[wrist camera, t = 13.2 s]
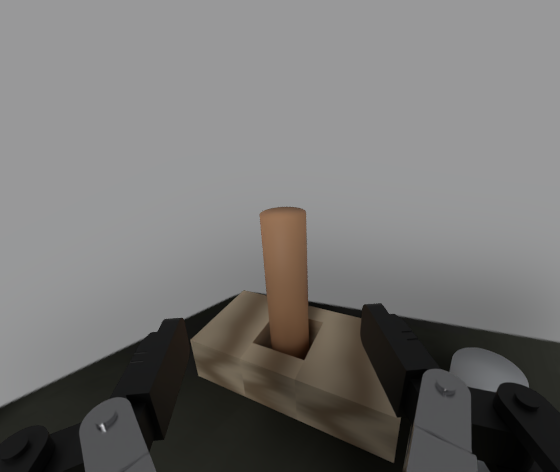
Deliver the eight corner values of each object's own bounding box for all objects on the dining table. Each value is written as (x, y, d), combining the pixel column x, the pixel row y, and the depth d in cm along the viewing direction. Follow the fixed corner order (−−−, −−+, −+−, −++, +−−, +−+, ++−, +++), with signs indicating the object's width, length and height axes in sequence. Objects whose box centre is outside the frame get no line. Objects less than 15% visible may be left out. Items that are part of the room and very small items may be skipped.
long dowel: (267, 376, 29) (250, 217, 22) (283, 350, 32) (273, 205, 25) (301, 390, 27) (294, 222, 20) (314, 361, 30) (312, 208, 24)
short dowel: (446, 479, 20) (466, 397, 16) (429, 423, 23) (443, 345, 20) (509, 489, 19) (545, 404, 15) (482, 429, 22) (505, 349, 19)
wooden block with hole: (198, 375, 29) (190, 340, 27) (247, 320, 38) (243, 290, 36) (393, 463, 21) (400, 419, 19) (401, 366, 29) (407, 329, 27)
